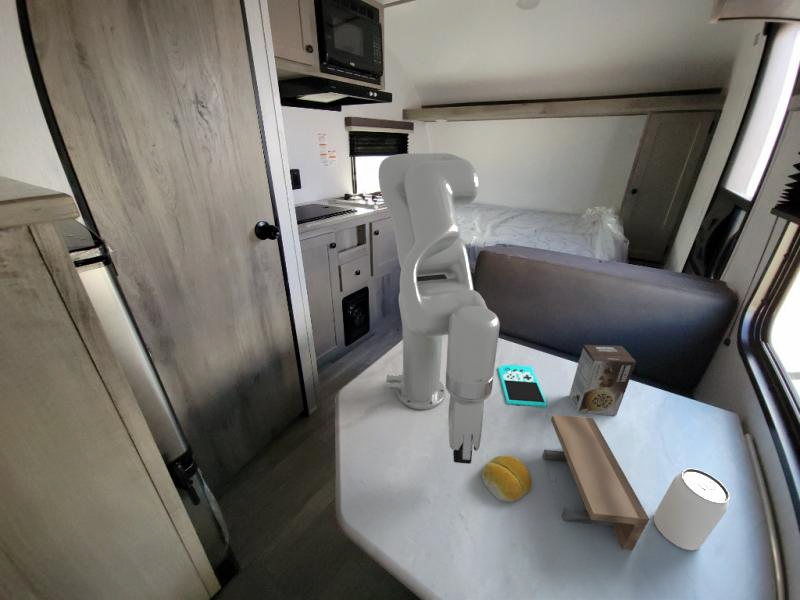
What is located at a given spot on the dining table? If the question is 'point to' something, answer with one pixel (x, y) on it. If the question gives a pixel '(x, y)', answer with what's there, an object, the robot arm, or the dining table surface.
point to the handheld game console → (521, 386)
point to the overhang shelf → (597, 480)
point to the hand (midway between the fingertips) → (461, 459)
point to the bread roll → (507, 478)
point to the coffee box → (601, 379)
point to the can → (691, 508)
